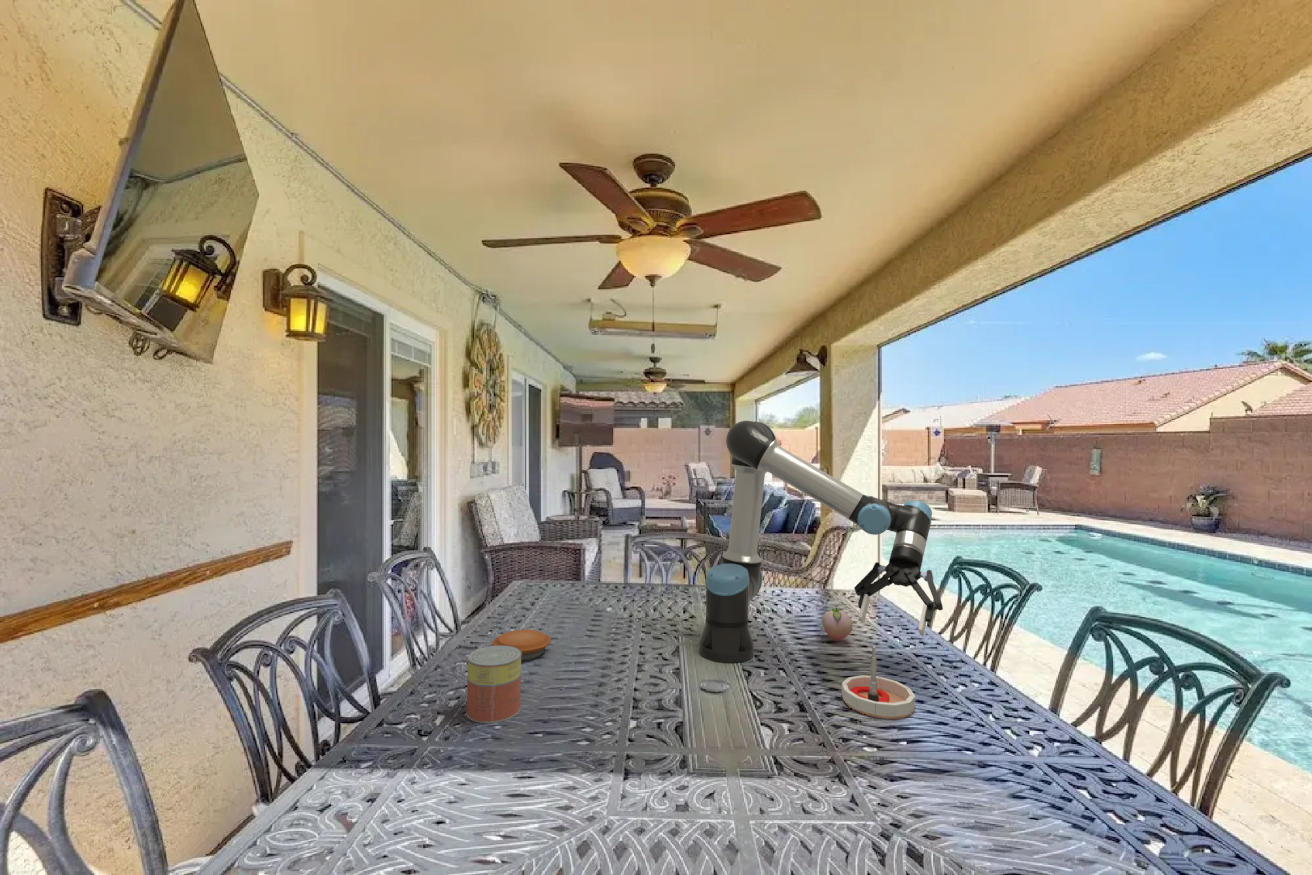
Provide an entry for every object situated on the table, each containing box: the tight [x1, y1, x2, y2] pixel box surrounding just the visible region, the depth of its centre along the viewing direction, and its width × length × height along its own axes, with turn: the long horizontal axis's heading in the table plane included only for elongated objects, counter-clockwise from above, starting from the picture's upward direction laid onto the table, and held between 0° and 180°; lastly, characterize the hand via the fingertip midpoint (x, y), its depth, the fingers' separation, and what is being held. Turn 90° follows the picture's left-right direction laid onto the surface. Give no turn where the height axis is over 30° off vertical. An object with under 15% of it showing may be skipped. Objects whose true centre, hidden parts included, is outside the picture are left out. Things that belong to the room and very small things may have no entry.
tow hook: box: [851, 646, 890, 703], centre depth 132 cm, size 8×13×9 cm
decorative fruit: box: [821, 606, 853, 642], centre depth 170 cm, size 9×8×10 cm
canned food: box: [465, 645, 522, 724], centre depth 124 cm, size 11×11×12 cm
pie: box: [491, 629, 552, 662], centre depth 157 cm, size 15×16×5 cm
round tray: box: [841, 674, 916, 720], centre depth 130 cm, size 15×15×3 cm
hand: (890, 626), depth 137 cm, fingers open, 13 cm apart
